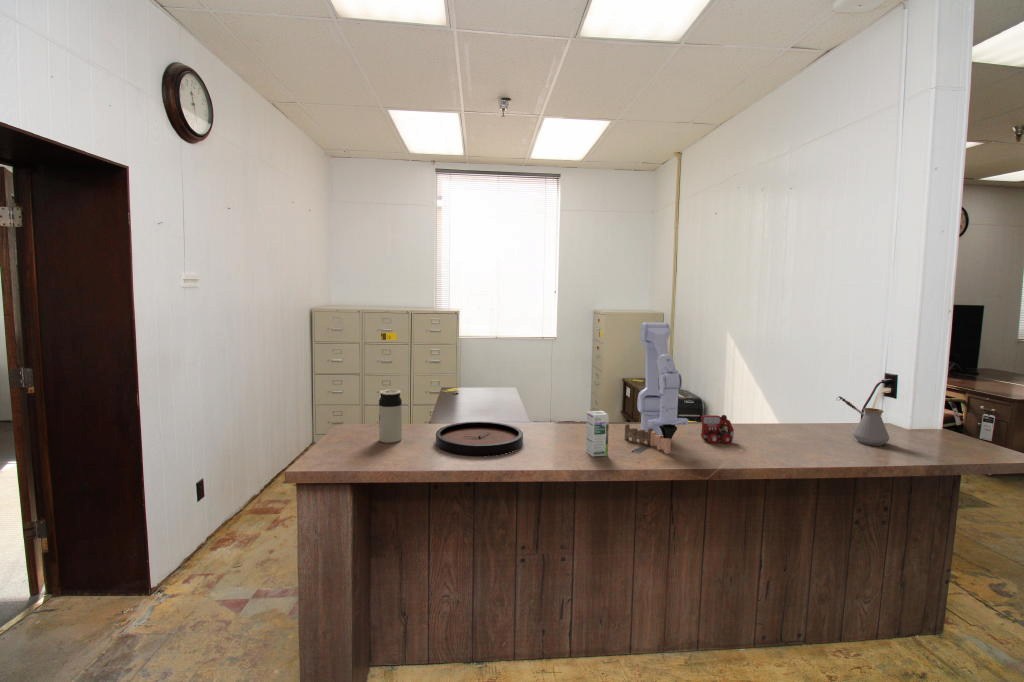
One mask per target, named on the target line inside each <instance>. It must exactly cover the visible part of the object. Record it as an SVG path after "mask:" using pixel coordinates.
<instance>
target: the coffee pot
mask: <svg viewBox="0 0 1024 682" xmlns="http://www.w3.org/2000/svg"><path fill="white" fill-rule="evenodd" d="M838 398H839V399H838ZM836 401H842V402H844V403H845V404H846V405H848V406H849V407H850V408H852V409H853V410H855V411H856V412H858V414H860V415H861V416H862V418H861V419H860V421H859V422H858V423H857V425H856V427H855V429H854V430H853V432H852V435H853V437H854V438H855V439H856V440H857V442H859V444H860V443H861V444H863V445H869V446H873V447H874V446H878V447H879V446H881V447H882V446H883V444H886V443H888V442H889V441H890V436H889V433H888V431H887V428H886V425H885V423H884V420H883V418H882V413H884V412H885V411H884V410H882V409H879V408H872V407H864V408H862V410H863V411H862V410H860V409H859V408H857V407H856V406H855V405H854V404H852V403H851V402H850V401H848V400H847V399H846V398H844V397H843V396H837V398H836Z"/></svg>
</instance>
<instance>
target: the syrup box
mask: <svg viewBox="0 0 1024 682" xmlns="http://www.w3.org/2000/svg"><path fill="white" fill-rule="evenodd" d="M609 419H610V414H609V413H608V412H606V411H604V410H593V411H587V412H586V428H585V429H586V432H585V433H586V437H585V443H586V444H585V452H586V453H587V454H588V455H589V454H590V455H589V456H591V457H592V458H595V457H605V456H606V457H607V456H608V455H609V429H610V428H609V426H610V425H609V424H610V420H609Z"/></svg>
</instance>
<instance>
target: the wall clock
mask: <svg viewBox="0 0 1024 682" xmlns="http://www.w3.org/2000/svg"><path fill="white" fill-rule="evenodd" d="M523 445H524V432H523V431H522V430H521V429H520V428H518V427H516V426H513V425H510V424H507V423H502V422H493V421H465V422H456V423H452V424H447V425H445V426H442V427H440V428H439V429H438V430H437V431H436V433H435V446H436V447H437V449H439V450H440V451H442V452H445V453H448V454H450V455H451V454H452V455H456V456H463V457H473V458H474V457H475V458H478V457H479V458H480V457H481V458H482V457H484V456H487V457H495V456H496V455H498V456H502V455H501V454H504V455H506V454H505V453H508V454H510V453H509V452H511V453H513V452H512V451H514V452H516V451H518V450H520V449H521V448H522V447H523ZM521 446H522V447H521ZM520 447H521V448H520ZM519 448H520V449H519ZM517 449H518V450H517ZM515 450H516V451H515ZM484 458H485V457H484Z"/></svg>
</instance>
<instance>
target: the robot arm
mask: <svg viewBox="0 0 1024 682" xmlns="http://www.w3.org/2000/svg"><path fill="white" fill-rule="evenodd" d="M639 334H640V337H639V338H640V344H641V345H644V352H645V354H644V355H645V357H644V359H645V363H644V364H645V366H644V369H645V387H644V388H643V389H642V390H640V391H639V392H638V394H637V400H636V401H637V402H636V405H637V410H638V412H639V413H640V415H641V416H640V417H641V418H640V420H641V421H640V430H641V429H643V430H645V431H647V432H648V428H652V429H653V431H655V432H656V435H663V438H669V439H671V440H672V439H673V437H674V434H675V433H676V431H677V430H678V427H677V426H679V425H684V426H689V419H688V418H685V417H678V409H679V407H678V406H679V390H681V389H682V385H683V381H682V379H683V378H682V375H681V373H680V372H679V370H677V367H676V364H675V360H674V357H673V356H672V355H670V353H669V346H668V340H669V337H670V335H671V327H670V324H669V323H668V322H646V321H644V322H642V324H641V325H640V333H639Z"/></svg>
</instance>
